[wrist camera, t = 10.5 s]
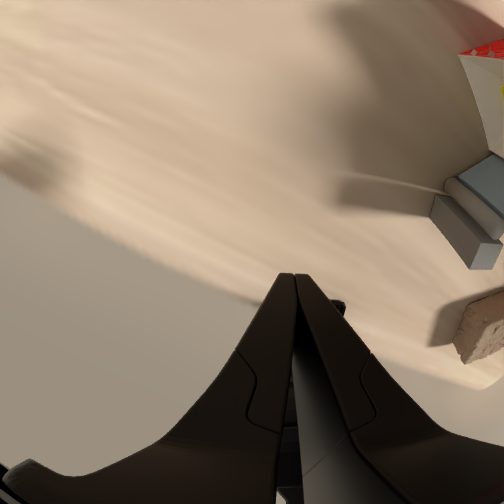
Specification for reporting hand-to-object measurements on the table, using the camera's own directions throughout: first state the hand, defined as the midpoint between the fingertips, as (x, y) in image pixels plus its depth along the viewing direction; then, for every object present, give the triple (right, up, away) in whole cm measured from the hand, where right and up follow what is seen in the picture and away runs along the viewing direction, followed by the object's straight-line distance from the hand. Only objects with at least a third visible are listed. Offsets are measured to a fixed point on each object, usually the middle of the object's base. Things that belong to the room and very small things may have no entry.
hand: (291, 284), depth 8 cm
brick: (+32, -6, +17) cm, 37 cm away
